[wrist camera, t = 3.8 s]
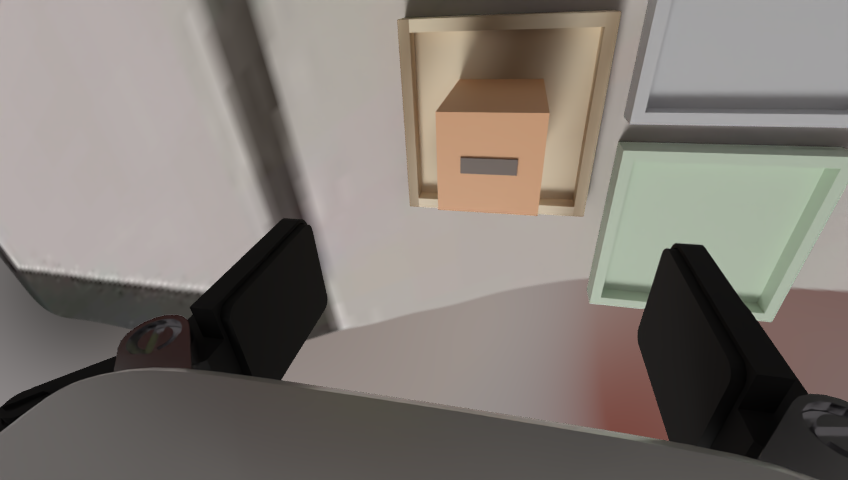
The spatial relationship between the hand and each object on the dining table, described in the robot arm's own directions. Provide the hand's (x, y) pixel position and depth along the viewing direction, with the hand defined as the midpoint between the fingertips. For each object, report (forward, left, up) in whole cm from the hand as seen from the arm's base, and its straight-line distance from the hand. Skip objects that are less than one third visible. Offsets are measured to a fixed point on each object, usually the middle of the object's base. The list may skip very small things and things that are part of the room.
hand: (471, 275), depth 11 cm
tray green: (-12, +6, -15) cm, 20 cm away
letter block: (0, 0, -15) cm, 15 cm away
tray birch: (0, 0, -15) cm, 15 cm away
